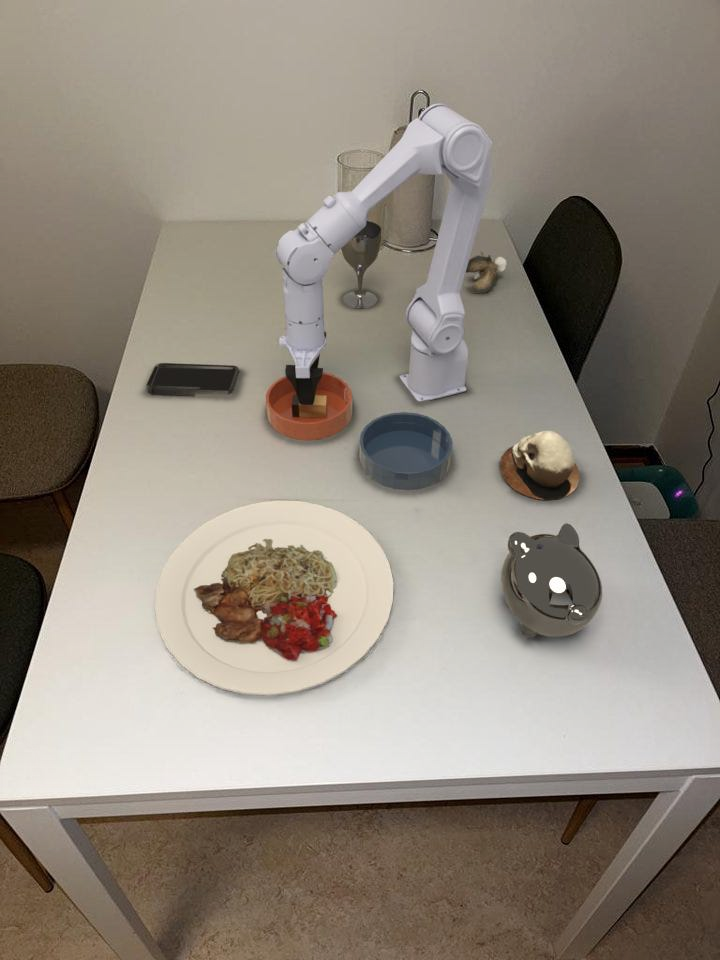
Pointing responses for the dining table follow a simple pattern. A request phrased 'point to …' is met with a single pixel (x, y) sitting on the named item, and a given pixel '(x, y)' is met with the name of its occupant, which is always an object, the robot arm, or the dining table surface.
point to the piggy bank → (550, 583)
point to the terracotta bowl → (310, 426)
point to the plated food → (274, 597)
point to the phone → (192, 379)
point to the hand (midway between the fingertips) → (308, 388)
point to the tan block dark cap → (310, 407)
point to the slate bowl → (405, 451)
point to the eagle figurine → (485, 272)
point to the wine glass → (362, 262)
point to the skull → (541, 466)
